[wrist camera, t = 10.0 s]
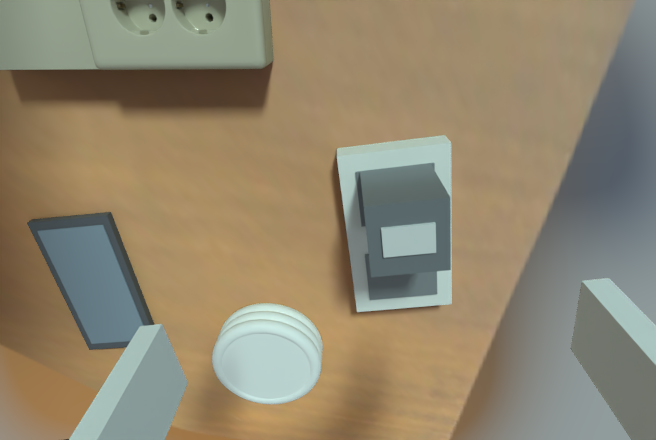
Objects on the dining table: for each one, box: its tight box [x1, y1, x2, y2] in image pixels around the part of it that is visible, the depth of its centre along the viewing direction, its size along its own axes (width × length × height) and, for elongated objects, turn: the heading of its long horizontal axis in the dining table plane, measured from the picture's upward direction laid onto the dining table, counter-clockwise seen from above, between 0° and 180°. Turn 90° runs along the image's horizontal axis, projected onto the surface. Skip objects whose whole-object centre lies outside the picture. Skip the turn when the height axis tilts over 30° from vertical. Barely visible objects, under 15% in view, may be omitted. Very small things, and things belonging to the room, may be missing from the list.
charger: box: [360, 164, 451, 277], centre depth 27 cm, size 5×5×6 cm
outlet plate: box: [337, 135, 452, 312], centre depth 33 cm, size 14×8×2 cm, turn 8°
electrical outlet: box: [0, 0, 274, 70], centre depth 26 cm, size 7×4×18 cm
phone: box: [27, 212, 154, 350], centre depth 37 cm, size 14×7×1 cm, turn 7°
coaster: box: [212, 303, 323, 404], centre depth 38 cm, size 10×10×4 cm
